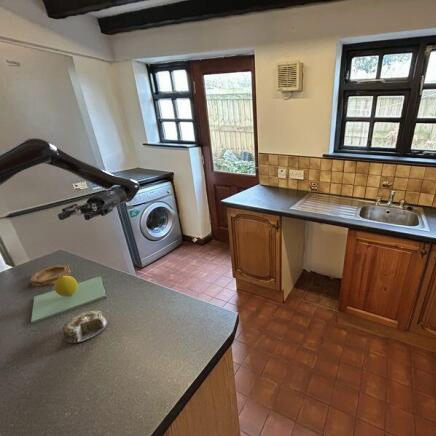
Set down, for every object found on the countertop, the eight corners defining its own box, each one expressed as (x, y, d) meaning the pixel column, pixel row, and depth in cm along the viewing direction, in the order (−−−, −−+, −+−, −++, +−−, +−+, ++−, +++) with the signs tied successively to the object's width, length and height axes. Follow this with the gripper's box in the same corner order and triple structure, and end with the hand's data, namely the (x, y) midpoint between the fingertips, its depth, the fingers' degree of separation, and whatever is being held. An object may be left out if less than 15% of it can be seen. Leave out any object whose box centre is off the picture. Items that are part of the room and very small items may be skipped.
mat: (32, 323, 72) (31, 321, 71) (35, 298, 81) (34, 296, 81) (106, 297, 83) (105, 295, 83) (101, 277, 92) (100, 276, 92)
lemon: (66, 303, 79) (57, 283, 76) (55, 298, 80) (46, 279, 77) (84, 292, 83) (77, 273, 80) (74, 288, 85) (66, 269, 82)
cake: (56, 339, 68) (48, 324, 66) (94, 314, 76) (88, 300, 75) (78, 349, 64) (70, 333, 62) (115, 322, 73) (110, 307, 71)
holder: (30, 290, 85) (28, 286, 84) (32, 276, 92) (30, 271, 92) (71, 278, 92) (69, 274, 91) (70, 265, 99) (68, 261, 98)
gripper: (83, 192, 96) (46, 207, 81) (120, 193, 96) (90, 207, 81) (89, 210, 99) (54, 227, 84) (124, 210, 99) (97, 227, 84)
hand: (72, 217), depth 83 cm, fingers open, 8 cm apart
